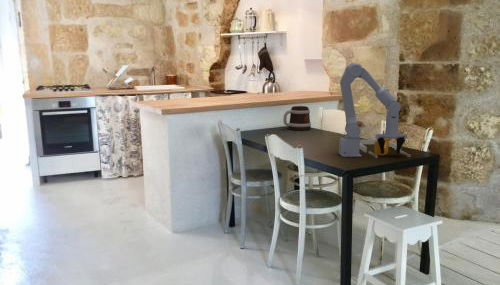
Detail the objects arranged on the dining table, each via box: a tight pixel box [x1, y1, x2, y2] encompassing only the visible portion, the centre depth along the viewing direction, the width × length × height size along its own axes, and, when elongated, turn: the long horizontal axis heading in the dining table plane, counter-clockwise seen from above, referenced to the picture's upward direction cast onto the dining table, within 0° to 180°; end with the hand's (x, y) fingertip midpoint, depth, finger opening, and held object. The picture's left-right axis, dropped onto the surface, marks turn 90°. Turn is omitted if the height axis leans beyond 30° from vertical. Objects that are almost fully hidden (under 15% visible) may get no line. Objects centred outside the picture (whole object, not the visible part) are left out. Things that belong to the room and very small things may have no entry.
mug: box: [283, 105, 312, 132], centre depth 286 cm, size 20×15×15 cm
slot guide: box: [368, 150, 412, 159], centre depth 210 cm, size 17×10×1 cm, turn 94°
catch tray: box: [359, 138, 402, 153], centre depth 228 cm, size 19×21×2 cm
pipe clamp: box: [373, 138, 390, 156], centre depth 216 cm, size 12×4×6 cm, turn 142°
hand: (390, 153), depth 209 cm, fingers open, 7 cm apart
